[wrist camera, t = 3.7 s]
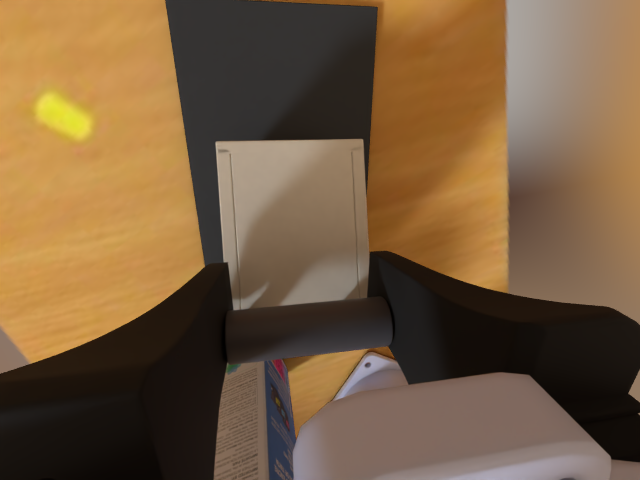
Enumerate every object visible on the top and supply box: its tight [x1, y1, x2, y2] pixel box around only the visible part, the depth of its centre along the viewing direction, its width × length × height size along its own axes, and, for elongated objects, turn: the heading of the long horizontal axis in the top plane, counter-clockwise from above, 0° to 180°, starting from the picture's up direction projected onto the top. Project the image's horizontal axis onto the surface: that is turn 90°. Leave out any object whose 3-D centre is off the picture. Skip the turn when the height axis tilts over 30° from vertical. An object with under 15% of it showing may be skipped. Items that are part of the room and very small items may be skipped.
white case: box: [216, 139, 393, 365], centre depth 14 cm, size 8×6×9 cm
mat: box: [165, 0, 378, 267], centre depth 19 cm, size 17×10×1 cm, turn 0°
